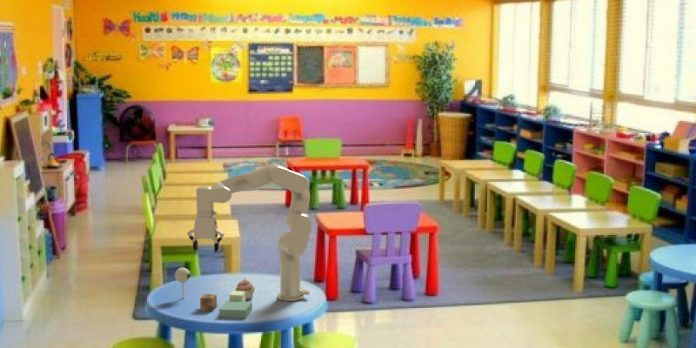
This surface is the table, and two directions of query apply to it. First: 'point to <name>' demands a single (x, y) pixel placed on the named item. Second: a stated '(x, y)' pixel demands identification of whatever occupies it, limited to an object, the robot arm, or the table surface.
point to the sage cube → (237, 296)
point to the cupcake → (246, 288)
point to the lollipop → (182, 277)
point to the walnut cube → (208, 302)
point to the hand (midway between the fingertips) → (206, 250)
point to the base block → (235, 309)
